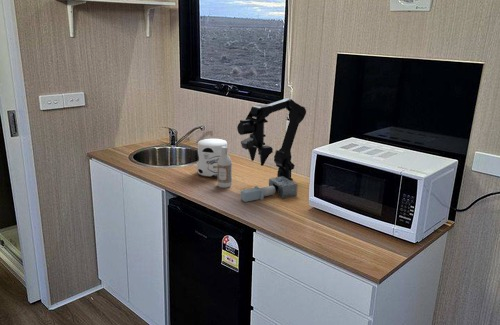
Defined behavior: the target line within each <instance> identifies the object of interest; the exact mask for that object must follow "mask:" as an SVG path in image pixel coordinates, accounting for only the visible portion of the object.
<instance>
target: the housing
mask: <svg viewBox="0 0 500 325" xmlns="http://www.w3.org/2000/svg"><path fill="white" fill-rule="evenodd" d="M268 186H274V187H275V190H276V192H275V193H277V192H278V197H279V198H280V199H286V198H287V199H288V198H292V197H297V193H298V192H297V191H298V183H296V182H295V181H293V180H289V179H287V178H285V177H283V176H282V177H277V176H276V177H272V178H269V179H268Z"/></svg>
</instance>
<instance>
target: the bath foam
mask: <svg viewBox="0 0 500 325" xmlns="http://www.w3.org/2000/svg"><path fill="white" fill-rule="evenodd" d="M221 150H222V154H221V156H220V157H219V159H218V163H217V170H218V177H217V186H218V188H222V189H224V188H226V189H227V188H230V187H231V186H232V184H233V183H232V181H233V180H232V177H233V176H232V168H233V167H232V165H233V164H232V159H231V157H230V155H229V153H228V150H229V149H228V146H227V147H226V146H223V147H221Z"/></svg>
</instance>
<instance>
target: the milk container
mask: <svg viewBox="0 0 500 325" xmlns="http://www.w3.org/2000/svg"><path fill="white" fill-rule="evenodd" d="M223 146H226V147H227V148H228V142H227V140H225V139H221V138H205V139H201V140H199V141H198V142H197V162H196V171H197V173H198V175H200V176H201V177H206V178H218V170H217V163H218V159H219V157H220V156H221V154H222V150H221V147H223Z"/></svg>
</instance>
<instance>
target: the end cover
mask: <svg viewBox="0 0 500 325" xmlns="http://www.w3.org/2000/svg"><path fill="white" fill-rule="evenodd" d="M276 193H277V192H276V190H275V187H274V186H269V185H268V186H262V187H259V186H257V185H255V186H254V187H252V188H247V189H242V190H240V200H242V201H243V202H245V203H246V202H251V201H257V200H261V201H264V197H268V196H273V195H275V194H276Z"/></svg>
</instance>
